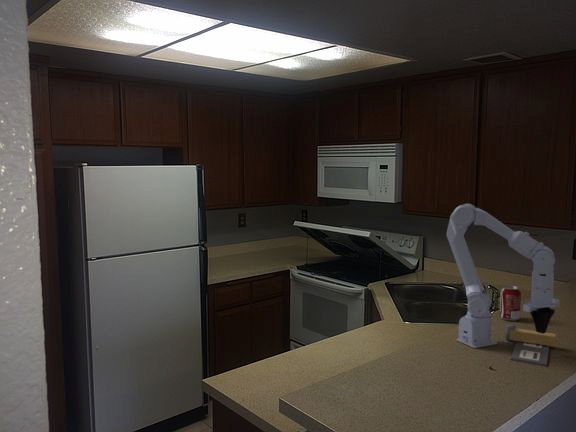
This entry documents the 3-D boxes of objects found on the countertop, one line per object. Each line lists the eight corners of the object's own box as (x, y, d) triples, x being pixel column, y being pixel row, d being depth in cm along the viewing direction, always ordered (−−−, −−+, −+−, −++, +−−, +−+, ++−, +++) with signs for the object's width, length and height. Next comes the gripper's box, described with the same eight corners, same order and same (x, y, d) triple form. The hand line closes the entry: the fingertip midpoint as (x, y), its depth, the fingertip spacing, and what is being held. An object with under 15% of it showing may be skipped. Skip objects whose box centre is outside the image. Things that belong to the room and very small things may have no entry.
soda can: (523, 321, 173) (524, 289, 172) (504, 321, 173) (505, 289, 172) (514, 316, 180) (515, 285, 179) (496, 316, 180) (497, 285, 179)
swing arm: (504, 340, 151) (505, 326, 151) (505, 337, 154) (506, 323, 154) (554, 348, 144) (555, 333, 144) (555, 345, 147) (555, 330, 147)
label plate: (546, 366, 132) (546, 363, 132) (495, 357, 138) (495, 354, 138) (550, 343, 151) (550, 340, 151) (505, 336, 157) (505, 333, 157)
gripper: (540, 293, 135) (538, 340, 136) (570, 287, 142) (568, 332, 143) (517, 288, 141) (516, 333, 142) (547, 283, 148) (545, 326, 149)
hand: (540, 332), depth 143 cm, fingers closed
